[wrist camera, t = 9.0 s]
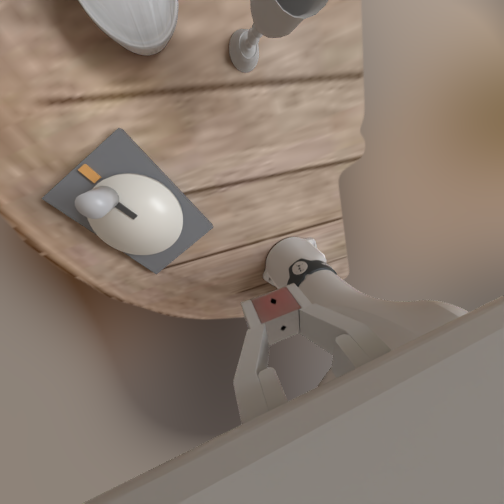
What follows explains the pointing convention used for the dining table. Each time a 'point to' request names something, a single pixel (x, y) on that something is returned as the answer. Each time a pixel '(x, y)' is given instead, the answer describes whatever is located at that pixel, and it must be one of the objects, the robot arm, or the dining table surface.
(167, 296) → the dining table surface
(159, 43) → the ramekin
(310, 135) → the dining table surface
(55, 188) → the dial board
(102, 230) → the dial
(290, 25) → the chalice
